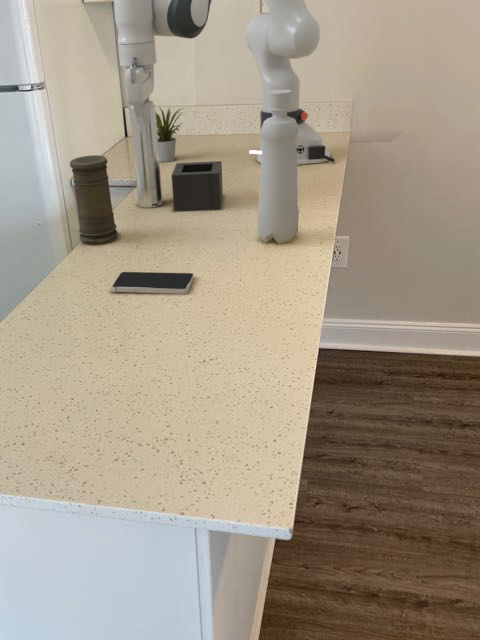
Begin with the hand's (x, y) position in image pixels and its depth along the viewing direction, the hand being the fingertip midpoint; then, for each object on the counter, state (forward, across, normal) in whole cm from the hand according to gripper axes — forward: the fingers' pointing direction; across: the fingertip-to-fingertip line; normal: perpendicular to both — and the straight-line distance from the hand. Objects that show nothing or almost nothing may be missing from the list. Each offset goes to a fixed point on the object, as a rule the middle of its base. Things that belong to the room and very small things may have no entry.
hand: (143, 118), depth 168 cm
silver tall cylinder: (+21, 0, 0) cm, 21 cm away
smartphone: (+21, -55, -8) cm, 60 cm away
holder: (+21, -1, -13) cm, 25 cm away
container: (+21, -26, +9) cm, 35 cm away
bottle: (+21, -30, -33) cm, 49 cm away
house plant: (+21, +48, 0) cm, 53 cm away
